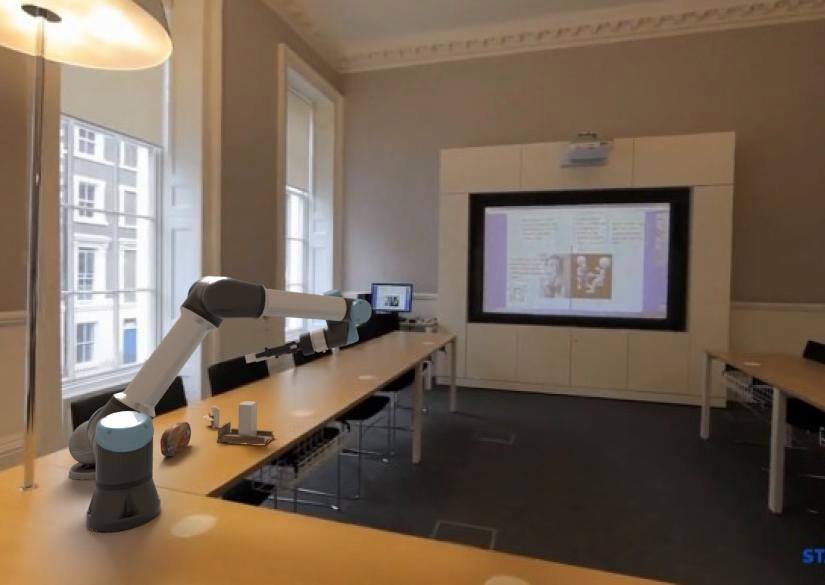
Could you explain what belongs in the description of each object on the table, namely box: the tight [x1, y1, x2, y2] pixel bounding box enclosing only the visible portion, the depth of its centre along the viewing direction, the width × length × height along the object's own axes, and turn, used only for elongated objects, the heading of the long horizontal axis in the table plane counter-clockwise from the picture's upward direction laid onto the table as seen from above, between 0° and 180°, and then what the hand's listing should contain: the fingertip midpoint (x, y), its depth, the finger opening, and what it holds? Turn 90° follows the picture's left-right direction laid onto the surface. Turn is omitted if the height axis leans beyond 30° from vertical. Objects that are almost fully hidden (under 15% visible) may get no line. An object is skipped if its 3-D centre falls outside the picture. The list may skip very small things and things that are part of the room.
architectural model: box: [202, 405, 220, 428], centre depth 181 cm, size 3×7×7 cm, turn 44°
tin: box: [159, 421, 192, 457], centre depth 155 cm, size 15×3×8 cm, turn 179°
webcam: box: [68, 420, 96, 480], centre depth 138 cm, size 13×13×15 cm
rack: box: [216, 420, 275, 445], centre depth 167 cm, size 8×17×5 cm, turn 83°
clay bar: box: [237, 400, 258, 437], centre depth 167 cm, size 4×4×12 cm
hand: (250, 358), depth 161 cm, fingers open, 13 cm apart
